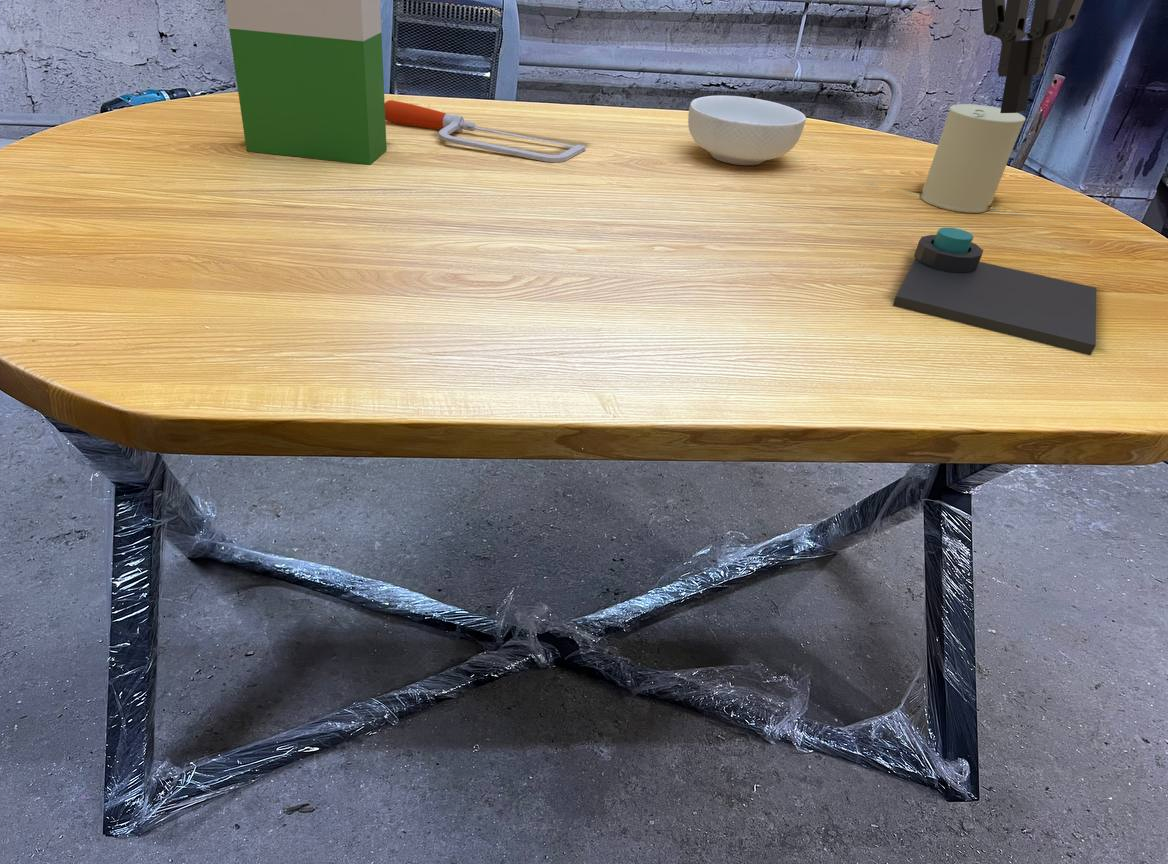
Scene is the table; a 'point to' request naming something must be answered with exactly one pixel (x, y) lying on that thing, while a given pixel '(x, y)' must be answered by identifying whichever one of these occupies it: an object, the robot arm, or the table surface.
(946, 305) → the scale
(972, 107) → the can
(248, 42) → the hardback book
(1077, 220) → the table surface
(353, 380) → the table surface
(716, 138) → the cereal bowl
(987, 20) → the robot arm
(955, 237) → the tare button
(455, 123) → the hand saw
